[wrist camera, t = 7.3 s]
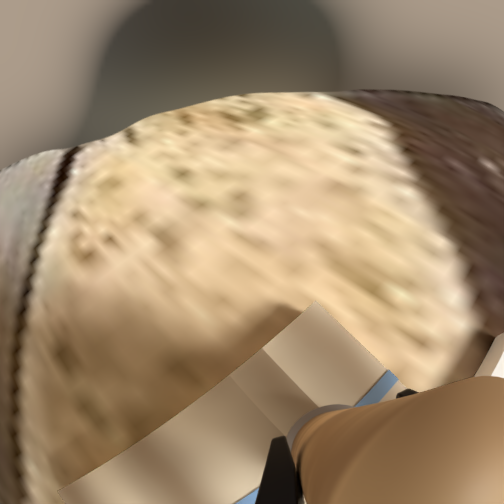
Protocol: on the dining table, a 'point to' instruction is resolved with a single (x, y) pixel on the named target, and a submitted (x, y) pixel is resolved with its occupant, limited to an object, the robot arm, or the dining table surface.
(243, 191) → the dining table surface
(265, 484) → the robot arm
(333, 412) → the awl
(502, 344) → the awl holder
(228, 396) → the beige flat rectangular piece
